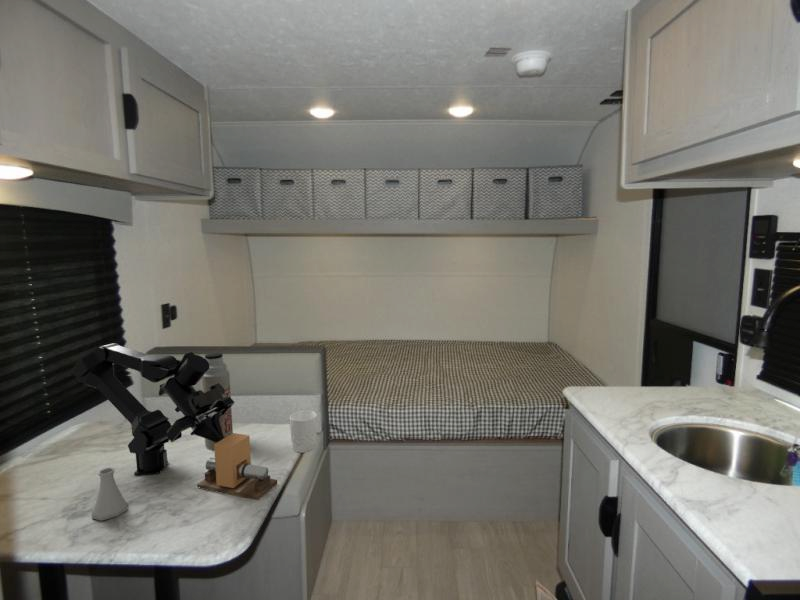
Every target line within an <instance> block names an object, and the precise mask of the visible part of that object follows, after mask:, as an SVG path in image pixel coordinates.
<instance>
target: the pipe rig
mask: <svg viewBox="0 0 800 600" xmlns="http://www.w3.org/2000/svg"><path fill="white" fill-rule="evenodd" d="M236 467H237V476H242V477H243V478H246V479H245V480H244V481H242V482H241V483H240V484H238V485H237V486H236V487H234V488H230V487H225V486H220V485H217V482H216V466H215V457H209V458H208V459H207V460H206V463H205V469H206V470H207V471H206V472H204V479H203V480H201V481H200V482H198V483H197V484H196V487H200V488H204V489H203V490H205V489H208V490H207V491H210V490H213V491H212V492H215V491H217V492H216V493H220V492H221V493H220V494H225V493H226V495H230V496H236V497H240V498H245V499H251V500H256V501H259V500H261V498H262V497H264V496H265V495H266V494H267V493H269V492H270V491H271V490H272V489H273V488H274V487H276V485H278V479H275V478H271V475H269V473H270V471H269V468H268V467H266V466H262V465H261V466H260V465H255V464H254V465H253V464H252V463H251V464H249V463H246V464H244V463H240V464H238V465H237V466H236ZM200 488H199V489H200Z"/></svg>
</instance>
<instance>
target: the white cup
mask: <svg viewBox="0 0 800 600" xmlns="http://www.w3.org/2000/svg"><path fill="white" fill-rule="evenodd" d="M317 417H318V414H317V413H316V412H315V411H311V410H300V411H296V412H294V413H291V414H290V415H289V428H290V437H291V438H290V439H291V446H292V451H294V452H296V453H302V454H303V453H309V452H312V451H314V450H315V449H316V446H317V429H318V428H317V421H318V419H317Z"/></svg>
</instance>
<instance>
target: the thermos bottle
mask: <svg viewBox="0 0 800 600" xmlns="http://www.w3.org/2000/svg"><path fill="white" fill-rule="evenodd" d="M204 358H205V359H206V360H207V361H208V363H209V366H210V367H209V369H208V371H207V372H206V373H205V374H204V376H203V377H202V378H201V379H200V387H201V391H203V392H204V393H205V392H207V391H210V387H211V386H213V385H215V384H217V383H219V384H220V385H221V386H222V387H223V388H224V390H225V393H224V394H222V396H223V398H225V397H231V398H232V395H231V392H232V391H231V380H230V379H231V376H230V370H228V369H227V368H228V366H227V363H226V362H224V358H223V353H222V352H212V353H211V352H210V353H207V354H205V355H204ZM223 398H222V399H223ZM218 400H220V399H218ZM218 400H216V402H217V401H218ZM216 402H214V404H213V405H212V406H211V407H210V409H211V408H212V407H213V406H214V405H215V403H216ZM205 416H206V415H205ZM219 422H220V426H221V430H222V433H223V436H224V438H226V437H227V436H229V435H231V434H232V433H234V429H233V428H234V427H233V426H234V425H233V412H232V407H231V408H230V409H229V410H228V411H227V412H226V413H225V414H224V415H223V416H221V417H220V418H219ZM215 443H216V442H213V441H211V440H208V439H206V438H204V444H205V445H204V446H205V448H206V449H208V450H214V444H215Z"/></svg>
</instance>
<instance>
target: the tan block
mask: <svg viewBox="0 0 800 600" xmlns="http://www.w3.org/2000/svg"><path fill="white" fill-rule="evenodd" d="M250 441H251V440H250V435H247V434H241V433H236V432H233V433H232V434H231V435H229V436H227V437H226V438H224V439H222V440H221V441H219V442H217V443H215V444H214V458H215V466H216V482H217V485H220V486H225V487H230V488H234V487H236V486H237V485H238V484H240V483H241V482H242V481H244V480H245V479H246V478H243V477H242V476H237V467H236V466H237V465H238V464H240V463H244V464H246V463H249V464H251V465H252V461H251V442H250Z"/></svg>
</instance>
